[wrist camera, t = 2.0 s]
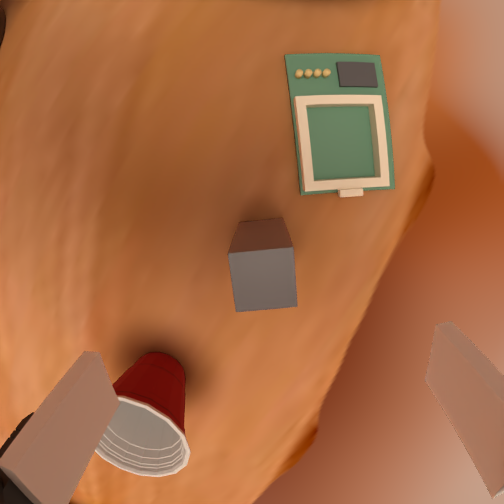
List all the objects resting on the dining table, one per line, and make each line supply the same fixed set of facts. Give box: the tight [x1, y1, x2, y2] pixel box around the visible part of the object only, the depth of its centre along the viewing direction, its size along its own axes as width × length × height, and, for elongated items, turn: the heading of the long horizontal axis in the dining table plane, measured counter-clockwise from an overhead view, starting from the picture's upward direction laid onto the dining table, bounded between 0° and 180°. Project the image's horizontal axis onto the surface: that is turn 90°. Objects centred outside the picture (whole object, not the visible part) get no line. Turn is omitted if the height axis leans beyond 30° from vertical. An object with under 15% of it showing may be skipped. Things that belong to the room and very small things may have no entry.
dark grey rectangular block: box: [228, 218, 297, 312], centre depth 25 cm, size 5×4×10 cm
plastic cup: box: [95, 352, 190, 477], centre depth 28 cm, size 11×11×12 cm
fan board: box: [284, 53, 395, 197], centre depth 25 cm, size 13×9×3 cm
